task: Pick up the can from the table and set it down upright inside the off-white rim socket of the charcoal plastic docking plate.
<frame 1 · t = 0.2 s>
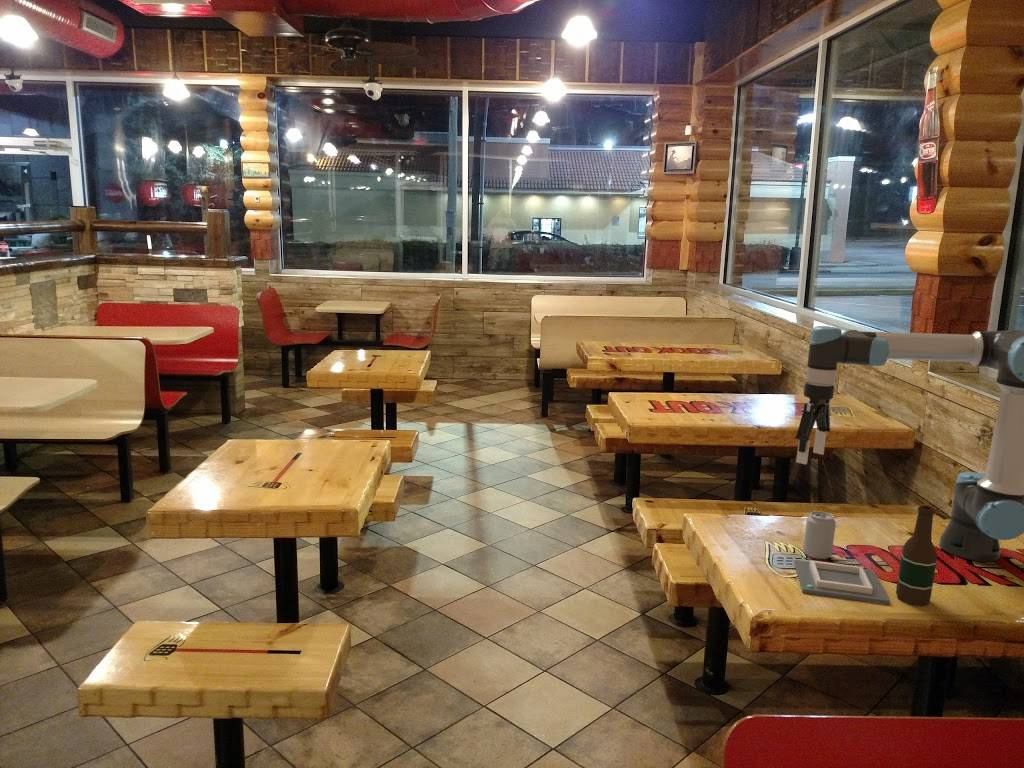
hand: (810, 458, 215), 27 cm above the table, tool pointing down, fingers open, 13 cm apart
beer bottle: (912, 600, 192), on the table
can: (816, 555, 216), on the table
dock: (838, 582, 199), on the table
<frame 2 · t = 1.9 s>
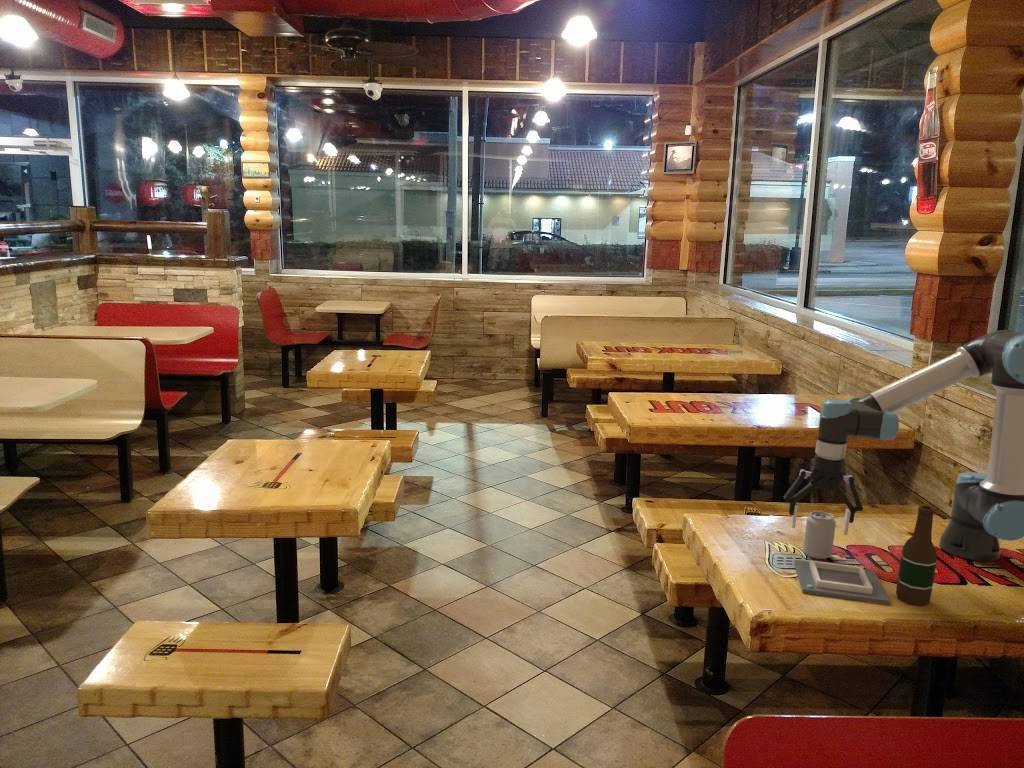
hand: (818, 529, 215), 7 cm above the table, tool pointing down, fingers open, 13 cm apart
nothing on the table moved.
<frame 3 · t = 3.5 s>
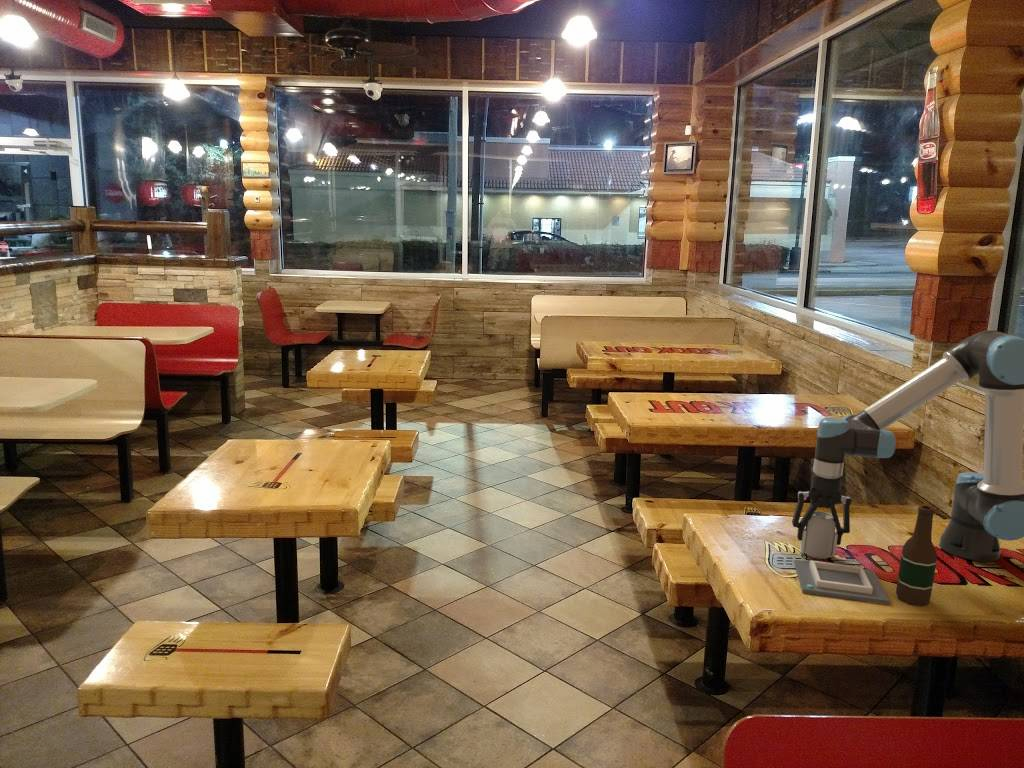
hand: (817, 552, 216), 1 cm above the table, tool pointing down, fingers closed on can, 7 cm apart
can: (816, 555, 216), on the table, touching gripper
everything else where it was.
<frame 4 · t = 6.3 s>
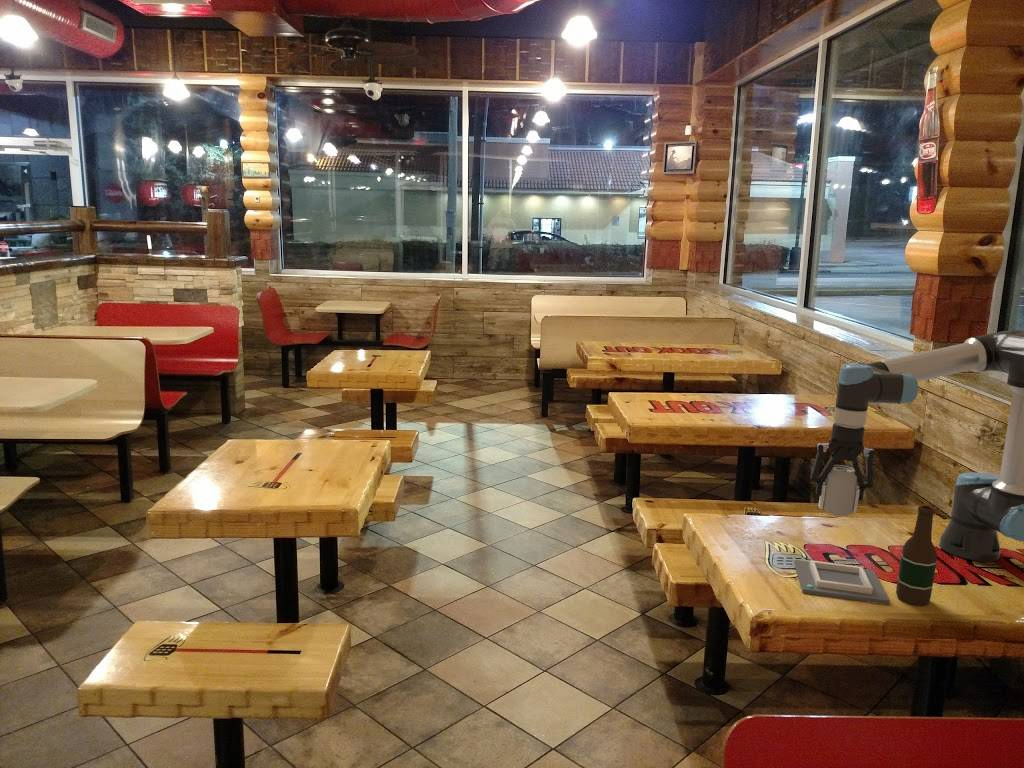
hand: (837, 509, 202), 17 cm above the table, tool pointing down, fingers closed on can, 7 cm apart
can: (836, 512, 202), point 17 cm above the table, touching gripper
everything else where it was.
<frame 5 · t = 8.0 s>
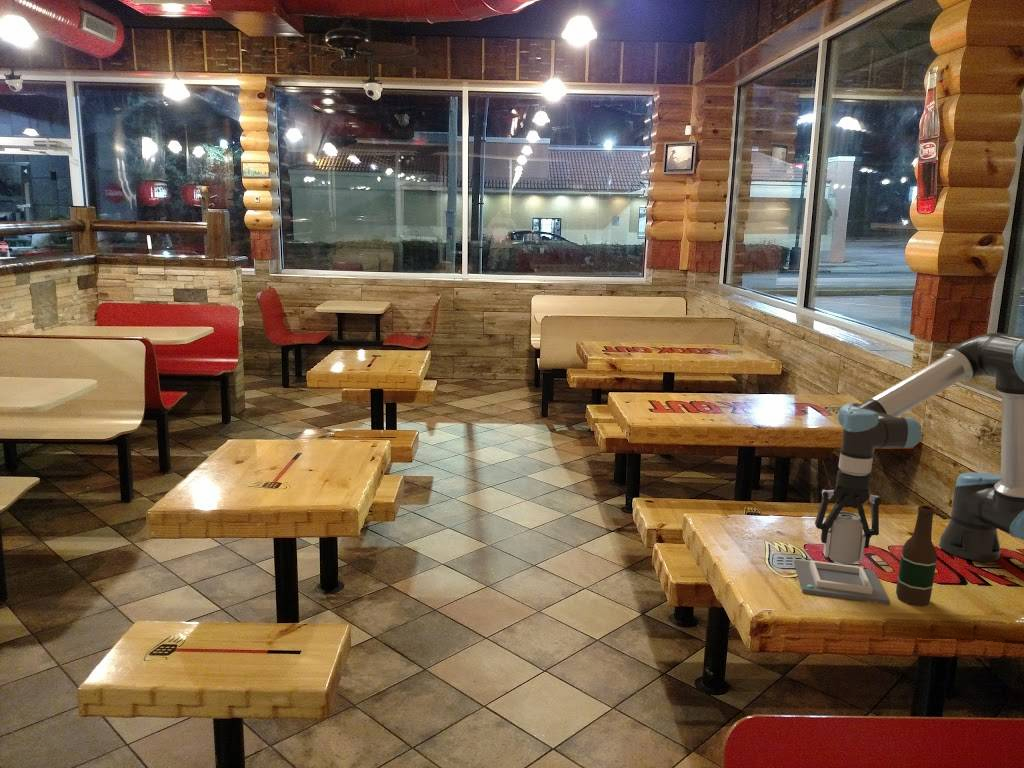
hand: (842, 556, 198), 7 cm above the table, tool pointing down, fingers closed on can, 7 cm apart
can: (842, 560, 198), point 6 cm above the table, touching gripper
everything else where it was.
when the fingers open (3 cm above the table, at t = 9.2 s): can drops 2 cm, resting on dock.
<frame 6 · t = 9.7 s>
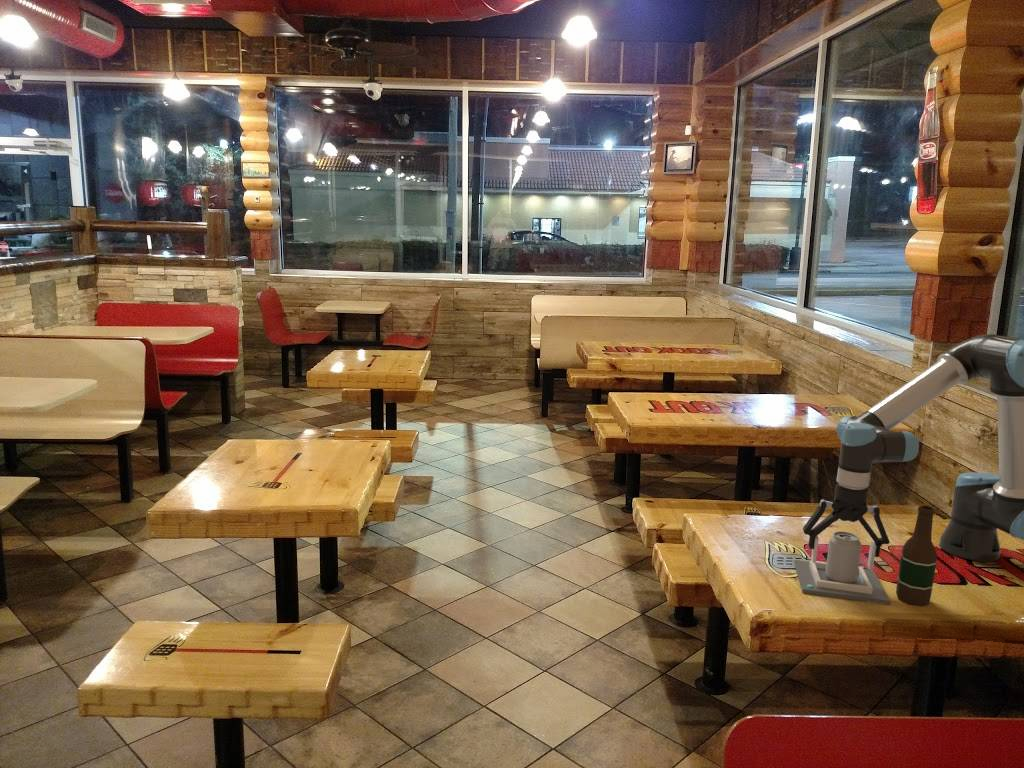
hand: (841, 564, 198), 5 cm above the table, tool pointing down, fingers open, 13 cm apart
can: (840, 580, 199), point 1 cm above the table, touching dock
everything else where it was.
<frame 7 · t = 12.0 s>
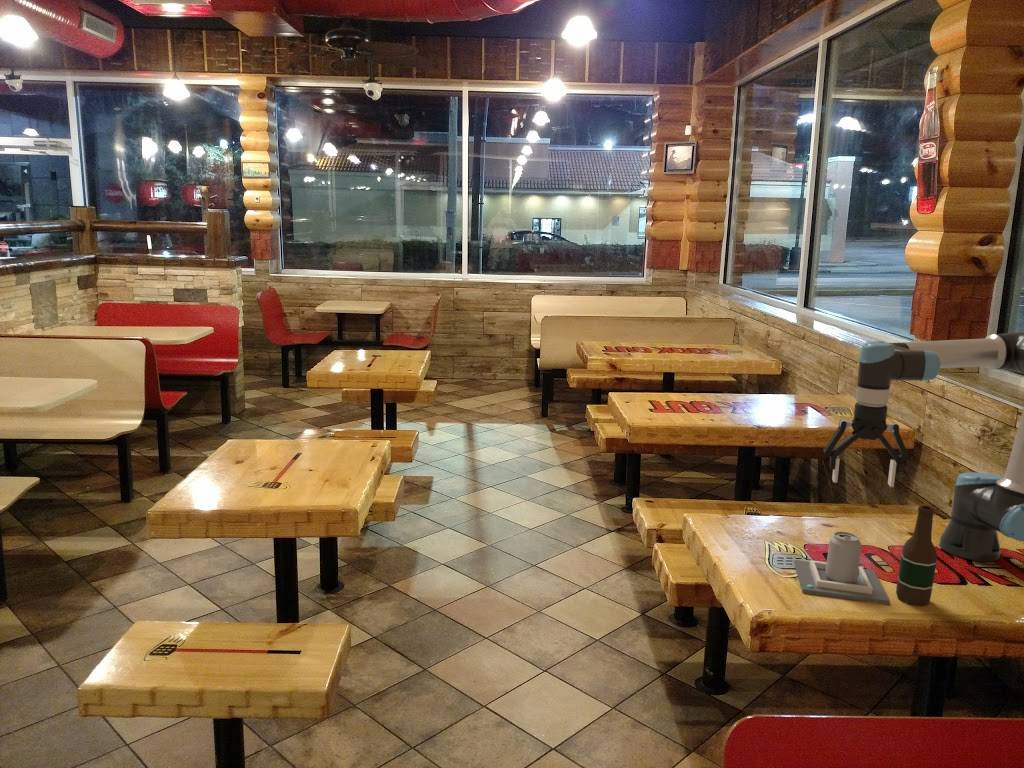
hand: (862, 483, 201), 25 cm above the table, tool pointing down, fingers open, 13 cm apart
nothing on the table moved.
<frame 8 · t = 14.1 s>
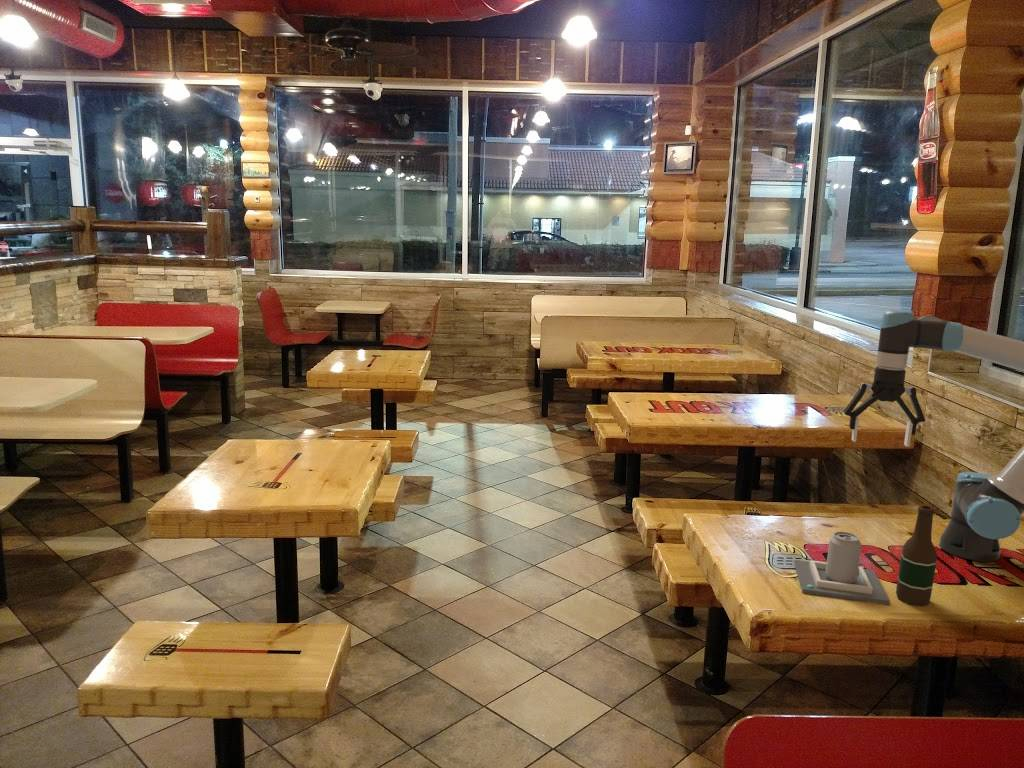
hand: (879, 443, 214), 32 cm above the table, tool pointing down, fingers open, 13 cm apart
nothing on the table moved.
at the end: can 0.3 cm off-centre on the dock, point 0.8 cm above the dock's base; can tilted 0°; the gripper is holding nothing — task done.
